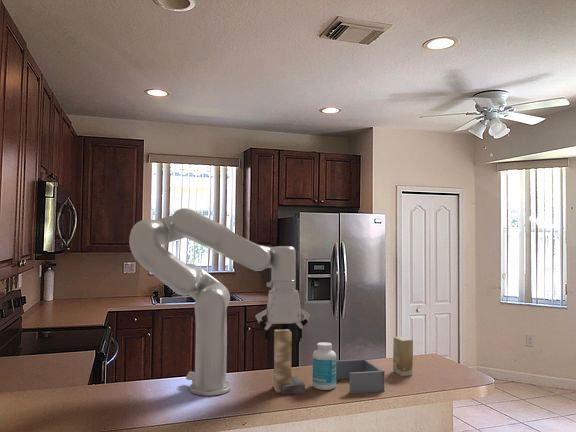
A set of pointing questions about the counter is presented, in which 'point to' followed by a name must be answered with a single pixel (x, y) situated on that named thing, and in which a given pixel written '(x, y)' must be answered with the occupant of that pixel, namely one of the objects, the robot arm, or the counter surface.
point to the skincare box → (403, 356)
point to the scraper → (285, 365)
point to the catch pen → (360, 375)
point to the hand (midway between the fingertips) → (283, 341)
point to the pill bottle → (324, 367)
